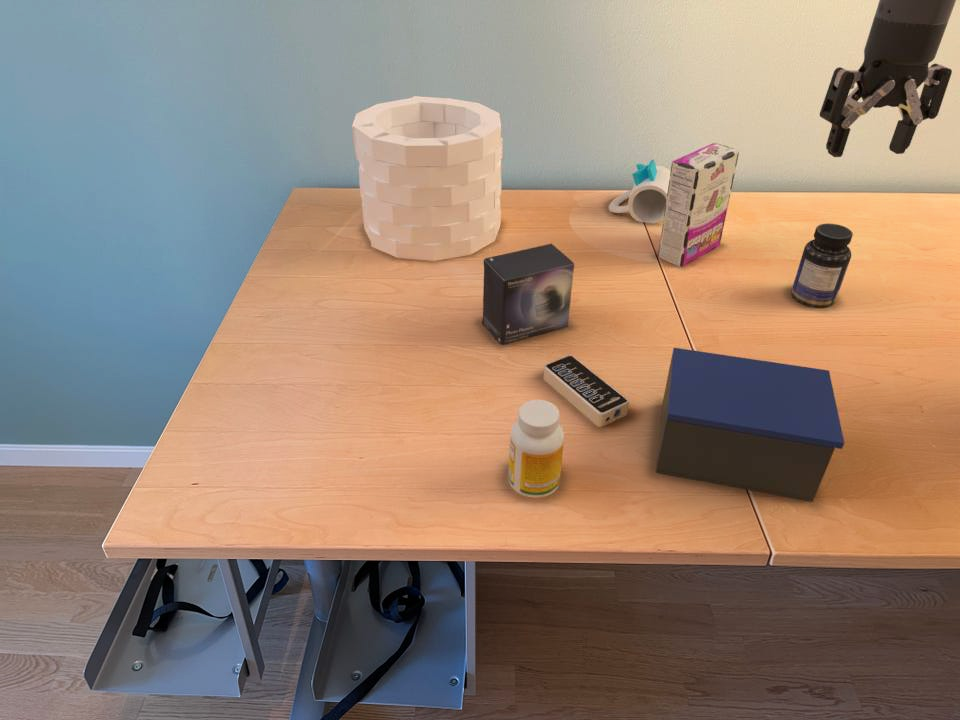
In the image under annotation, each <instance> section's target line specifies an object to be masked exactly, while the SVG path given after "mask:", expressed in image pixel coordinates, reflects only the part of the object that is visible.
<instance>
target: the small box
mask: <svg viewBox="0 0 960 720" xmlns="http://www.w3.org/2000/svg"><path fill="white" fill-rule="evenodd" d="M574 270H575V262H573V260H571V259H570V258H569V257H568V256H566V254H565V253H563V252H562V251H561V250H560V249H559V248H558V247H556V246H555V245H554V244H553V243H547V244H543V245H539V246H535V247H529V248H526V249H520V250H517V251H512V252H507V253H503V254H499V255H494V256H489V257H485V258H483V293H482V320H481V325H482V326H483V327H485V329H486V330H487V331H488V332H489V333H490V334H491V336H492V337H493V338H494V339H495V341H496V342H497V343H499V345H501V346H504V345H509V344H512V343H515V342H520V341H523V340H527V339H530V338H534V337H538V336H541V335H545V334H548V333H549V334H550V333H552V332H557V331H560V330H563V329H566V328H568V327H569V319H570V309H571V298H572V290H573V279H574Z"/></svg>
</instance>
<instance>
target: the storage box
mask: <svg viewBox="0 0 960 720" xmlns="http://www.w3.org/2000/svg"><path fill="white" fill-rule="evenodd" d="M671 365H672V357H671V359H670V363H669V368H668V374H667V379H666V383H665V388H664V394H663V398H662V403H661V412H660V421H659V422H660V423H659V432H658V443H657V456H656V464H655V465H656V466H655V474H660V475H665V476H670V477H675V478H681V479H686V480H687V479H688V480H692V481H698V482H703V483H708V484H713V485H714V484H715V485H718V486H724V487H730V488H735V489H741V490H747V491H751V492H755V493H756V492H757V493H761V494H768V495H773V496H778V497H783V498H789V499H794V500H799V501H805V502H809V503H813V502H814V499H815V497H816V495H817V493H818V490H819V488H820V485H821V483H822V481H823V477H824V476H825V473H826V471H827V468H828V466H829V464H830V462H831V460H832V457H833V454H834V452H835V449H836V448H833V447H827V446H821V445H815V444H809V443H803V442H797V441H791V440H785V439H779V438H773V437H768V436H762V435H756V434H750V433H744V432H738V431H732V430H726V429H720V428H714V427H708V426H703V425H697V424H691V423H685V422H679V421H673V420H667V412H668V400H669V389H670V377H671Z"/></svg>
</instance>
